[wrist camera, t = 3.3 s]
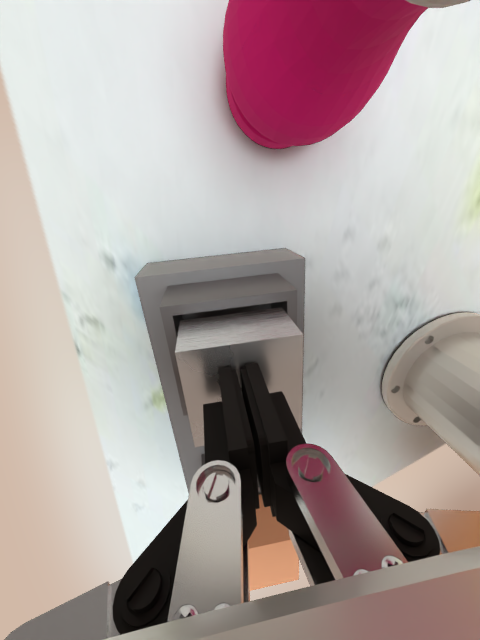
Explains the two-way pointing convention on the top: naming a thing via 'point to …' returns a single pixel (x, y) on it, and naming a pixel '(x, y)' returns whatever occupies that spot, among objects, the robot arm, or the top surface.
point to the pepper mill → (310, 62)
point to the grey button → (238, 358)
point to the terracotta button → (271, 552)
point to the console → (211, 314)
